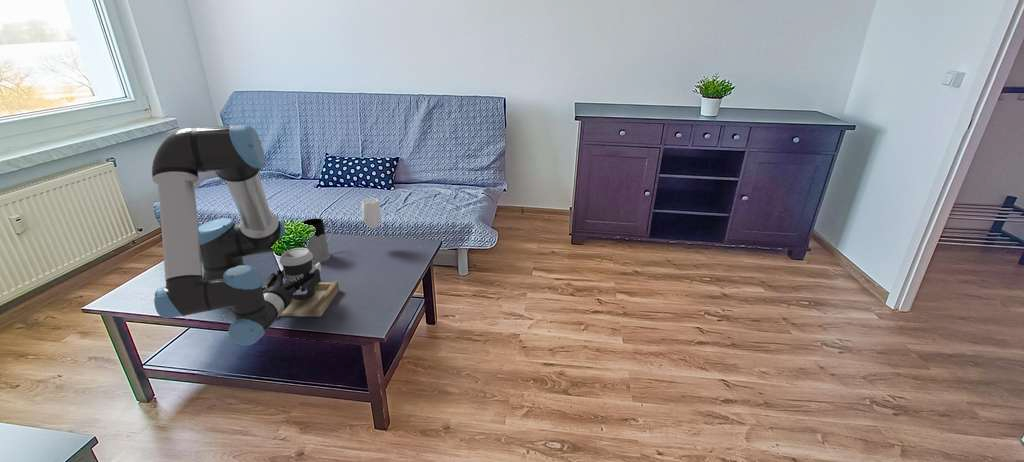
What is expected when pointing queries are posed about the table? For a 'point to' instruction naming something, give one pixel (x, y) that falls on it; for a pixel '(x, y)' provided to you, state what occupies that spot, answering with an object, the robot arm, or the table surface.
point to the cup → (371, 212)
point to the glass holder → (319, 240)
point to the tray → (313, 301)
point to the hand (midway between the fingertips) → (306, 266)
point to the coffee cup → (297, 267)
